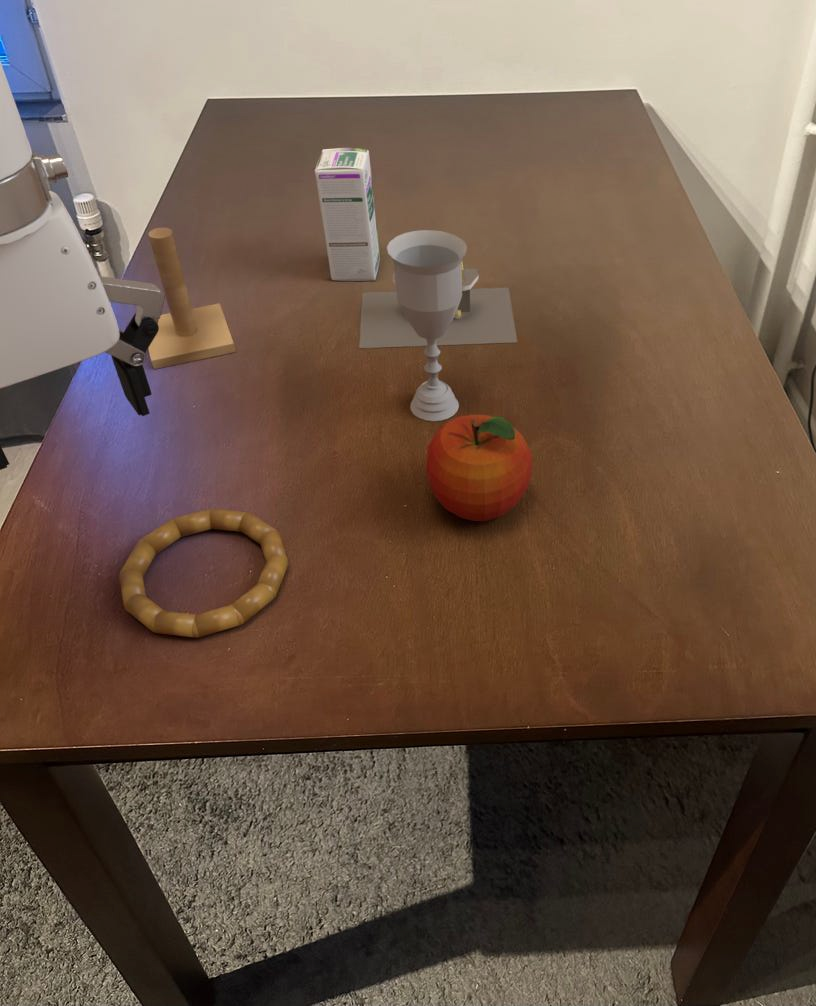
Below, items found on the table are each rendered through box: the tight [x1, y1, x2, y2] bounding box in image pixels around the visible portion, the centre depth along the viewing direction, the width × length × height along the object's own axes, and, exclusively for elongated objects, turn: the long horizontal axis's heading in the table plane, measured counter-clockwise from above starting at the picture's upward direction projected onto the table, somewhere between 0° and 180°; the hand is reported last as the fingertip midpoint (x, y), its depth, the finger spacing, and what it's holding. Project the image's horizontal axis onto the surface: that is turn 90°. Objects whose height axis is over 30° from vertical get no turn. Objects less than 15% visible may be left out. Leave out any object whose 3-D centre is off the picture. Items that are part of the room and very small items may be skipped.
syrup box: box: [314, 147, 381, 282], centre depth 108 cm, size 6×6×14 cm
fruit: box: [425, 414, 533, 522], centre depth 79 cm, size 10×10×10 cm
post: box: [147, 226, 236, 370], centre depth 97 cm, size 9×9×13 cm
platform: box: [358, 261, 518, 349], centre depth 103 cm, size 12×18×7 cm, turn 94°
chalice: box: [386, 229, 468, 422], centre depth 87 cm, size 7×7×18 cm
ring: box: [119, 508, 289, 639], centre depth 76 cm, size 14×14×2 cm
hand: (70, 430), depth 62 cm, fingers open, 9 cm apart
